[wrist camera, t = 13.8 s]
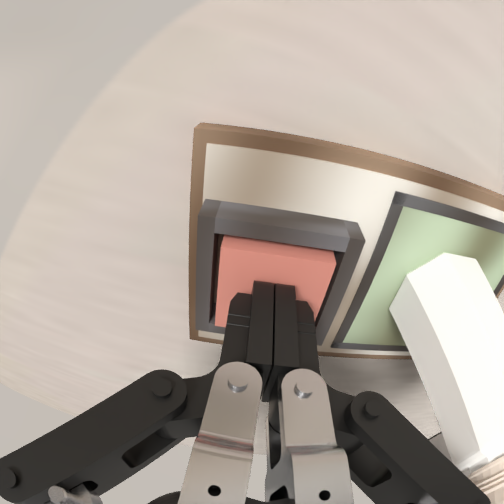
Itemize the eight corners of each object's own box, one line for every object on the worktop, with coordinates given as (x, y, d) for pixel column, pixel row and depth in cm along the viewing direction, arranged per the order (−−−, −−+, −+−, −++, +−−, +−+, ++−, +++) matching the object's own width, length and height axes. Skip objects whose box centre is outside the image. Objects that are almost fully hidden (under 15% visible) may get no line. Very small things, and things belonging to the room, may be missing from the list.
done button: (329, 239, 12) (336, 263, 10) (306, 311, 14) (308, 337, 13) (227, 223, 12) (220, 247, 10) (220, 299, 14) (214, 325, 13)
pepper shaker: (385, 340, 15) (420, 538, 6) (389, 261, 12) (466, 534, 3) (469, 318, 14) (529, 490, 5) (489, 240, 11) (602, 445, 2)
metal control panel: (530, 208, 11) (556, 231, 9) (448, 347, 17) (458, 374, 15) (200, 122, 11) (182, 137, 9) (193, 325, 17) (184, 359, 15)
